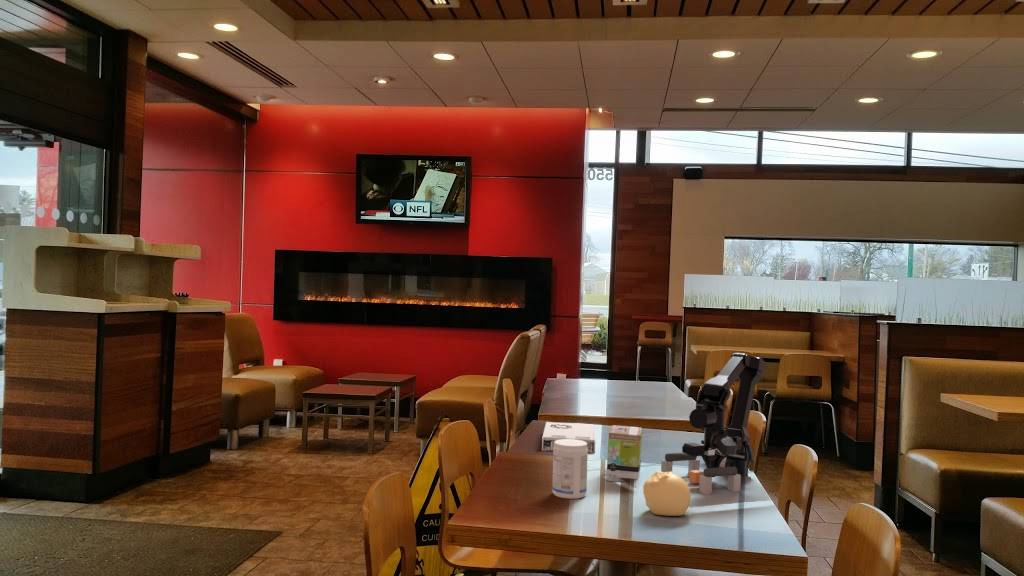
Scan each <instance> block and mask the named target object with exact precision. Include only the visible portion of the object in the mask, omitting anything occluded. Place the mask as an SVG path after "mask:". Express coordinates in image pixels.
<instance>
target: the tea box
mask: <svg viewBox="0 0 1024 576" xmlns="http://www.w3.org/2000/svg"><path fill="white" fill-rule="evenodd" d="M642 441H643V427H638V426H630V425H629V426H628V425H618V424H617V425H615V424H614V425H613V424H612V425H611V427H610V429H609V433H608V442H607V461H606V477H605V478H606V481H609V482H615V481H619V482H618V483H625V482H627V481H626V480H624V479H633V480H634V479H635V480H639V478H640V473H641V463H642V447H643V445H642V444H643V442H642Z"/></svg>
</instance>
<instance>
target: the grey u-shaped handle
mask: <svg viewBox="0 0 1024 576" xmlns="http://www.w3.org/2000/svg"><path fill="white" fill-rule="evenodd" d="M697 457H698V456H691V455H688V454H686V453H683V452H674V453H665V455H664V459H662V460H661V463H660V464H661V466H660V467H661V468H660V471H662V472H671V471H672V472H673V463H674V462H681V461H682V462H684V461H686V462H687V461H688V468H687V469H688V471H687V473H688V474H689V472H690V471H693V470H699V471H700V467H701V466H700V465H701V463H700V462H701V460H700V459H699V458H697Z"/></svg>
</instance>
